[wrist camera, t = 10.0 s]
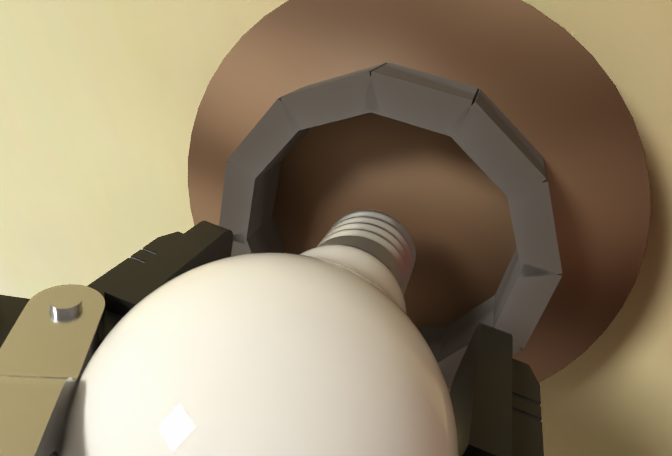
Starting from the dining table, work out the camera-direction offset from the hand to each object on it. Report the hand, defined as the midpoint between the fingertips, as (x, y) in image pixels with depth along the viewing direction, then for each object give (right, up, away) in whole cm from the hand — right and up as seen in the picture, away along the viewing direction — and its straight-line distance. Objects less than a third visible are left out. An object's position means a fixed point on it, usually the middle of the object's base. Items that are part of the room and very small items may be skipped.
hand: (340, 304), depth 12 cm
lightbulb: (+1, +2, +3) cm, 4 cm away
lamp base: (+2, +3, +6) cm, 7 cm away
